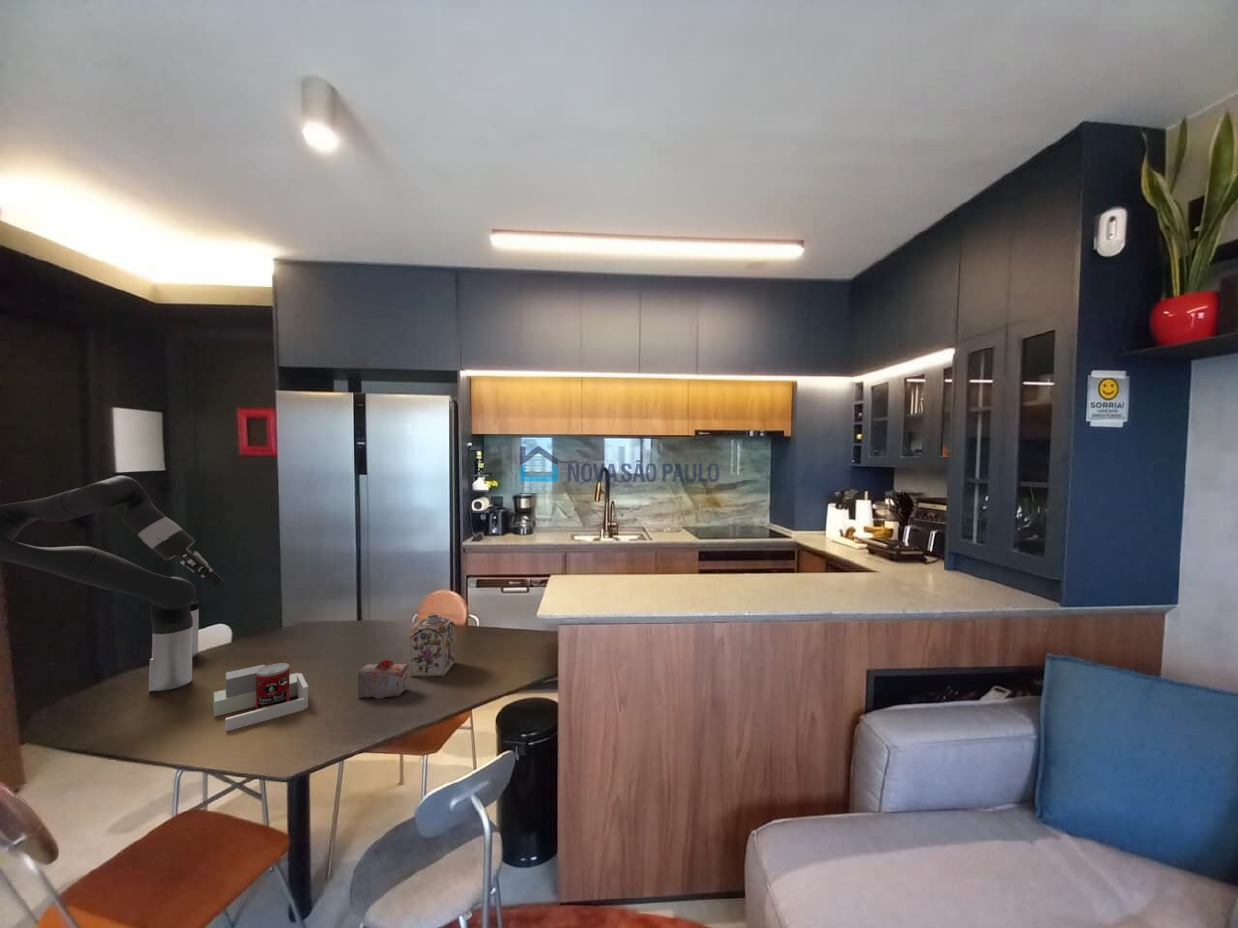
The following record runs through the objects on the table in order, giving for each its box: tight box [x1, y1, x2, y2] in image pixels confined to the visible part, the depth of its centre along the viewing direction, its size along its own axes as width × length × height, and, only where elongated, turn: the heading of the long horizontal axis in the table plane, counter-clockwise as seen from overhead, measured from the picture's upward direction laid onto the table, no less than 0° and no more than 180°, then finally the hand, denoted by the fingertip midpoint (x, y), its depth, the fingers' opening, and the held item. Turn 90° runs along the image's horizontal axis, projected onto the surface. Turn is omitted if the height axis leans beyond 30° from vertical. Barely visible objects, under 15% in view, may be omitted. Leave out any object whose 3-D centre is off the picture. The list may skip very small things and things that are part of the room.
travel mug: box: [190, 599, 200, 658], centre depth 172 cm, size 6×7×20 cm
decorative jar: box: [409, 613, 456, 677], centre depth 161 cm, size 12×12×18 cm
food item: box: [357, 659, 410, 700], centre depth 143 cm, size 14×8×10 cm, turn 95°
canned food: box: [255, 662, 291, 710], centre depth 135 cm, size 8×8×11 cm
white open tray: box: [213, 664, 309, 732], centre depth 135 cm, size 20×19×9 cm
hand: (219, 583), depth 132 cm, fingers closed
